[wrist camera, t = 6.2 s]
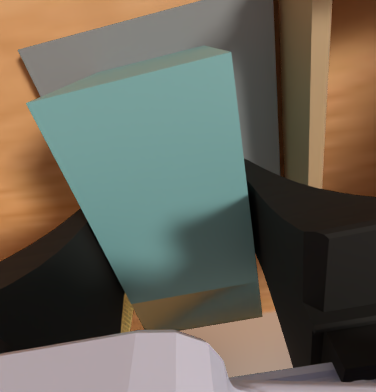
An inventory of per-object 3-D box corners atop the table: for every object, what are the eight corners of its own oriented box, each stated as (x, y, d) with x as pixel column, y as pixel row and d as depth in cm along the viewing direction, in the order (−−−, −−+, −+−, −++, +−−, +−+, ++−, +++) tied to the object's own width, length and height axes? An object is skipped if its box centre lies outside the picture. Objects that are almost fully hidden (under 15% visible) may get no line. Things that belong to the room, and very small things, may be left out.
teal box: (204, 45, 10) (231, 51, 5) (233, 221, 15) (262, 316, 10) (97, 72, 11) (26, 103, 6) (157, 236, 15) (147, 335, 10)
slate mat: (267, -16, 10) (272, -19, 10) (279, 226, 16) (282, 233, 16) (25, 49, 11) (17, 49, 10) (124, 256, 17) (122, 263, 16)
